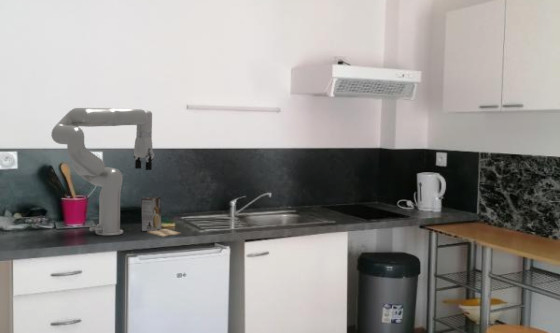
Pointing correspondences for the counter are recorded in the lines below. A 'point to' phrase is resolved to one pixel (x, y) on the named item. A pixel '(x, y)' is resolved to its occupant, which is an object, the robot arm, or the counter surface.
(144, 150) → the robot arm
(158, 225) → the coffee box
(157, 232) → the open book
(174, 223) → the counter surface
